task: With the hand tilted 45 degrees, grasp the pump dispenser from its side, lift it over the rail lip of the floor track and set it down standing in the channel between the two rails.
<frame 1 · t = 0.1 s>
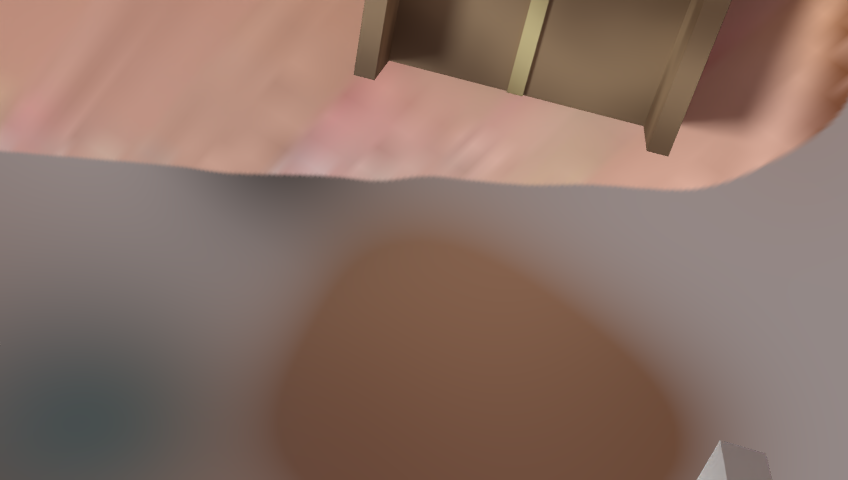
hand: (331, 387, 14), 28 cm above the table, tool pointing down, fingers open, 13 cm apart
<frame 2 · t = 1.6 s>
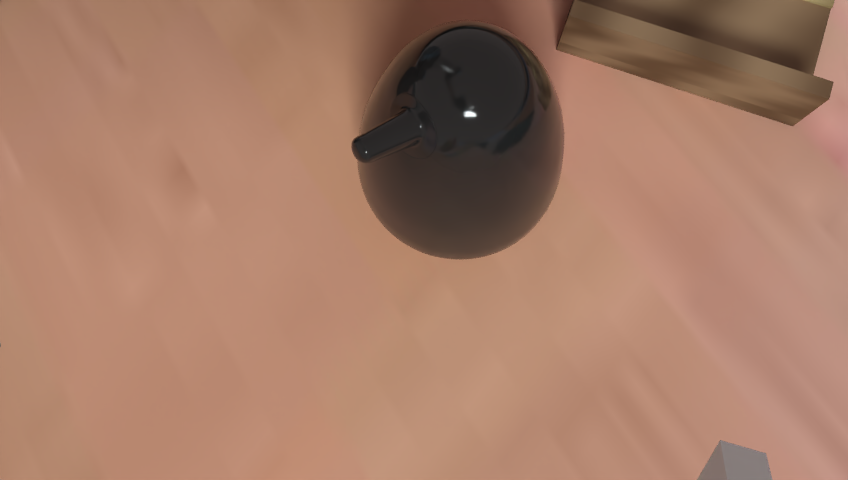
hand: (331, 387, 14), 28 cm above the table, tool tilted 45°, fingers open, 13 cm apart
pump dispenser: (453, 183, 43), on the table
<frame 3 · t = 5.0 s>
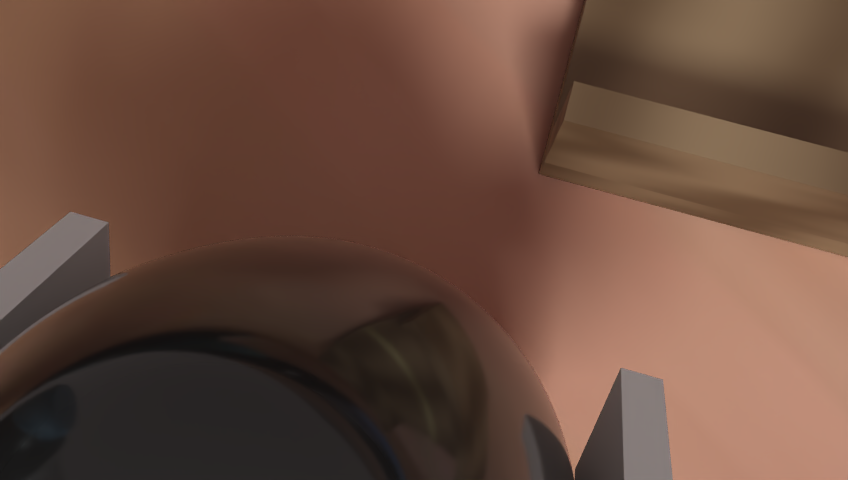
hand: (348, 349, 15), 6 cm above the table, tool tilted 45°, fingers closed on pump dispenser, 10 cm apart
track: (831, 1, 23), on the table
when the fingers open (8 cm above the table, at t = 11.0 s): pump dispenser drops 1 cm, resting on track.
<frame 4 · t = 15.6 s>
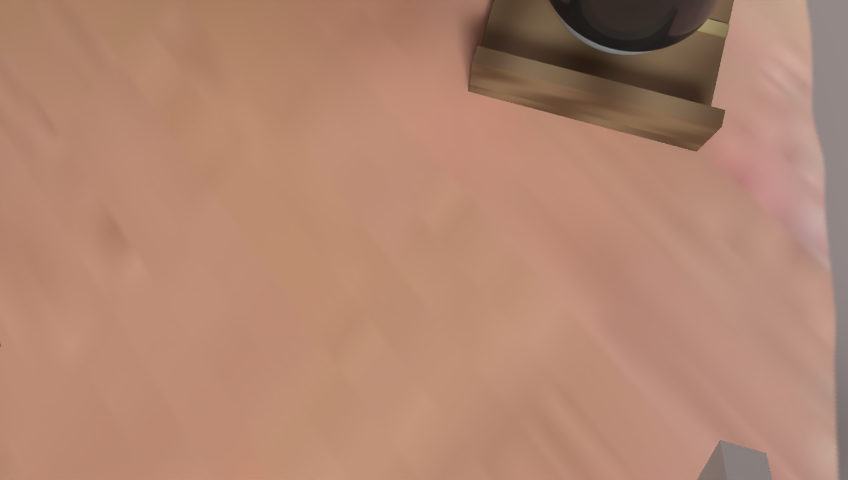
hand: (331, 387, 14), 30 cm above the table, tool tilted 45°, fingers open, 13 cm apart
pump dispenser: (613, 4, 47), point 1 cm above the table, touching track
track: (609, 11, 48), on the table
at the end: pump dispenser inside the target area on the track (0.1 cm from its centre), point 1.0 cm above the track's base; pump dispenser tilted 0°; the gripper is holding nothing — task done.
